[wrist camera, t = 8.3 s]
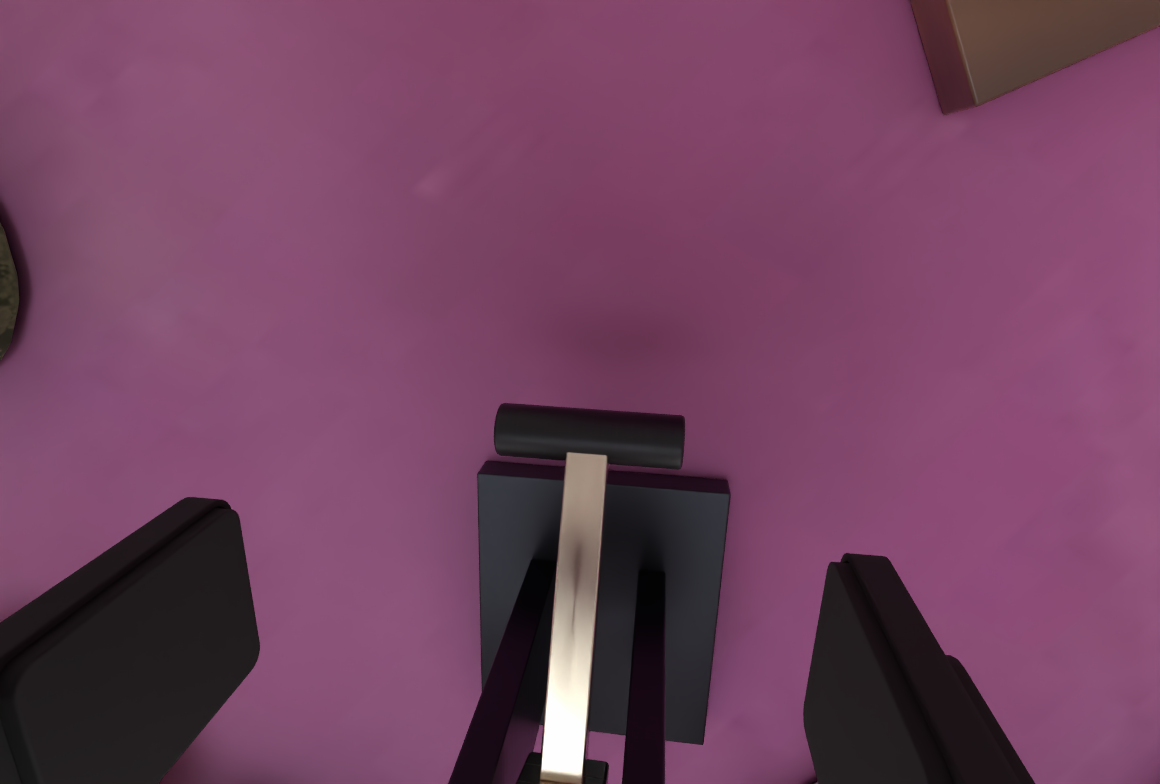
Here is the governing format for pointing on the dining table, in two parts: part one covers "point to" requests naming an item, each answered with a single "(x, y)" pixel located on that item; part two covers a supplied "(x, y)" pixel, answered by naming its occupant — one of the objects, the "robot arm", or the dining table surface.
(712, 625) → the switch bracket
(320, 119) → the dining table surface
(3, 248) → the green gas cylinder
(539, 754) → the switch lever
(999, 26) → the button block
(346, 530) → the dining table surface
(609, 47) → the dining table surface
